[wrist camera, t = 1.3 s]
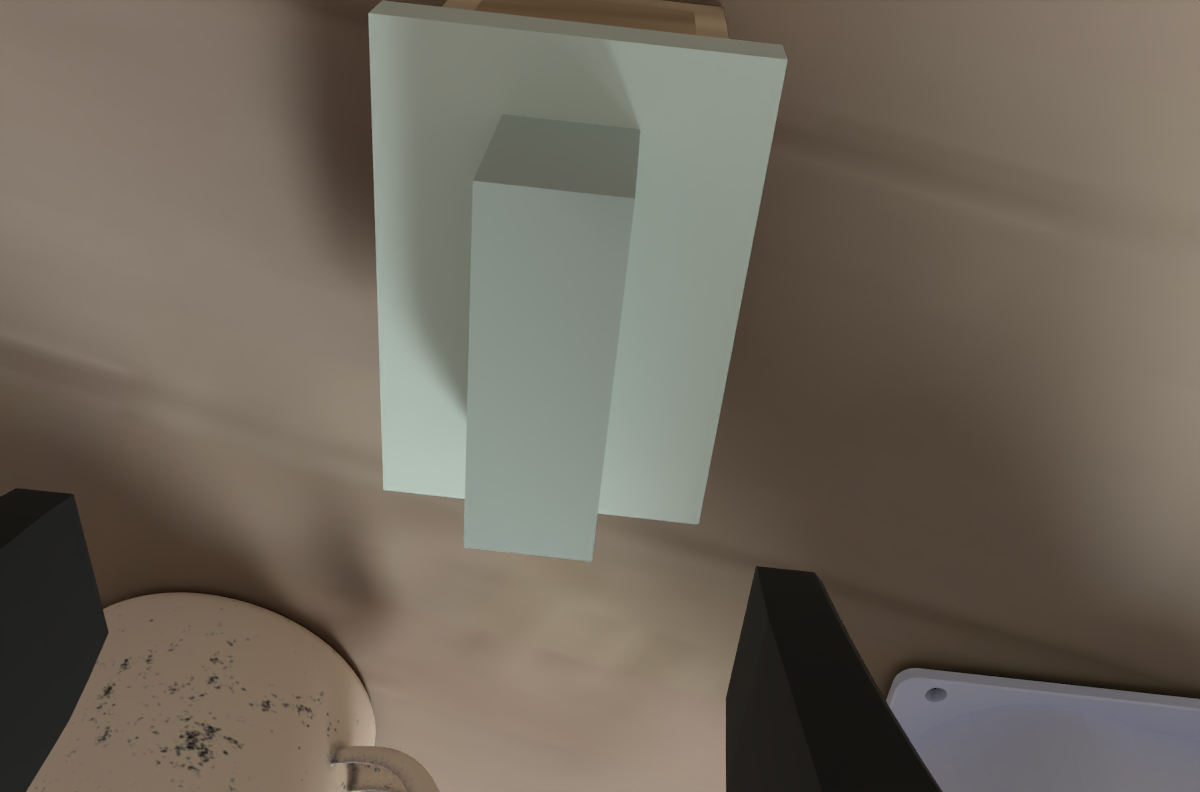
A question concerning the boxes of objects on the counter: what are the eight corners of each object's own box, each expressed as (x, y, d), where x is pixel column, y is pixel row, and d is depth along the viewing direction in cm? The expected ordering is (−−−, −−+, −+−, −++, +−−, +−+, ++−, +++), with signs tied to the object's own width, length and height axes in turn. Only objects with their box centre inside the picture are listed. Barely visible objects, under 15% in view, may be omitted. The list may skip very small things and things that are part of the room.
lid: (382, 0, 15) (312, 64, 12) (782, 44, 15) (809, 120, 12) (393, 463, 19) (344, 590, 16) (697, 497, 19) (702, 629, 16)
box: (465, -23, 17) (430, 20, 15) (723, 6, 17) (732, 53, 15) (458, 374, 22) (430, 459, 19) (663, 397, 22) (662, 484, 19)
